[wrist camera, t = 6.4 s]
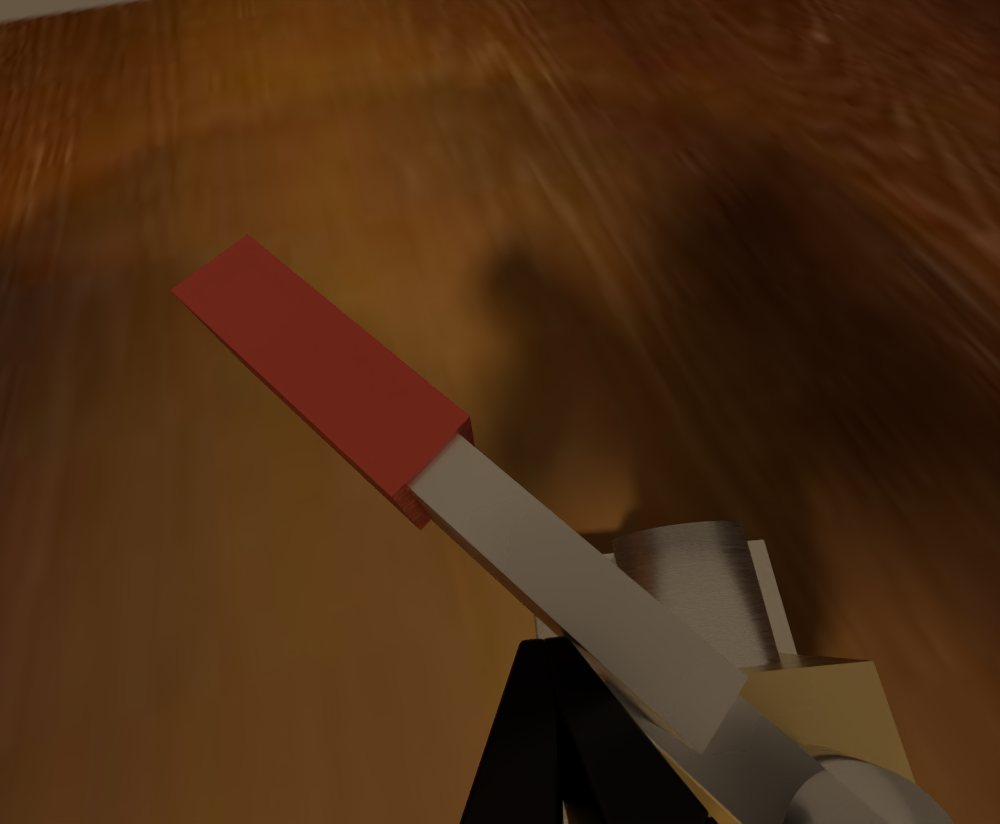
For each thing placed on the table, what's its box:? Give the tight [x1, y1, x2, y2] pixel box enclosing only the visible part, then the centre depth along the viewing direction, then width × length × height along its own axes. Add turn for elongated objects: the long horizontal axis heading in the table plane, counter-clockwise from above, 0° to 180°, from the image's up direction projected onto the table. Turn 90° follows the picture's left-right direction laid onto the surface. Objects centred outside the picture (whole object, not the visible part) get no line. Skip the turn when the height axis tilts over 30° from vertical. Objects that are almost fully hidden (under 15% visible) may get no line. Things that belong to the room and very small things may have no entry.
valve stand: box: [534, 521, 916, 824], centre depth 14 cm, size 13×9×9 cm
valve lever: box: [171, 234, 954, 824], centre depth 9 cm, size 3×17×4 cm, turn 49°
